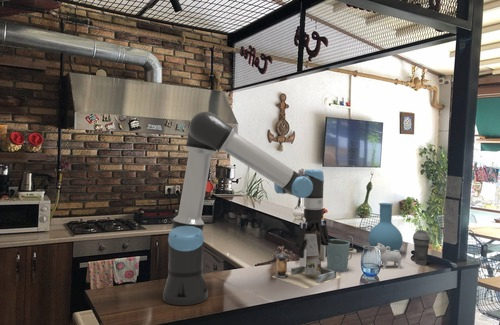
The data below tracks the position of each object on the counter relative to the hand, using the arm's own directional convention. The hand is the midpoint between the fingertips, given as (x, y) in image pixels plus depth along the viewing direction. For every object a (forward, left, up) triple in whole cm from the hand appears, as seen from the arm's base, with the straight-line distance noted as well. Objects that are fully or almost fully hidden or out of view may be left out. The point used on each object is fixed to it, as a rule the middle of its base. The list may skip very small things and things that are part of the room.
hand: (312, 263), depth 155 cm
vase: (+63, +5, -6) cm, 64 cm away
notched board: (-2, +1, -6) cm, 7 cm away
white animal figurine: (+39, -10, -6) cm, 41 cm away
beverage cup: (+56, -17, -6) cm, 59 cm away
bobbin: (-10, +8, -5) cm, 13 cm away
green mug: (+19, +2, -6) cm, 20 cm away
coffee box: (0, 0, -3) cm, 3 cm away
